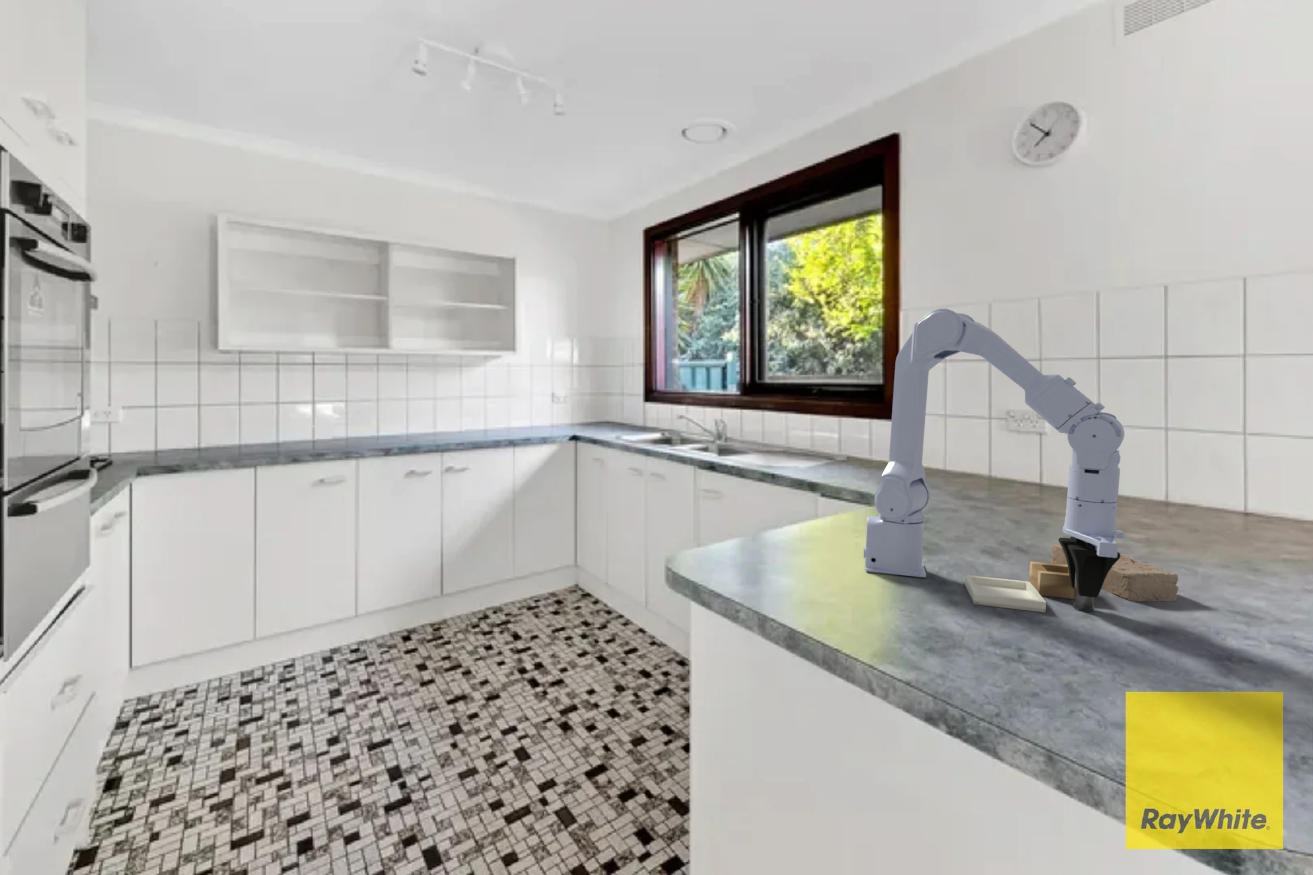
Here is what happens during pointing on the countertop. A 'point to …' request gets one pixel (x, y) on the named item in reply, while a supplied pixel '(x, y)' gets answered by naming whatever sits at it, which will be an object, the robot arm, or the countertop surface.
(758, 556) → the countertop surface
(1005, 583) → the tray
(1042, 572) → the wooden square frame
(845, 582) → the countertop surface
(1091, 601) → the cylinder
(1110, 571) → the brick
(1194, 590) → the countertop surface
